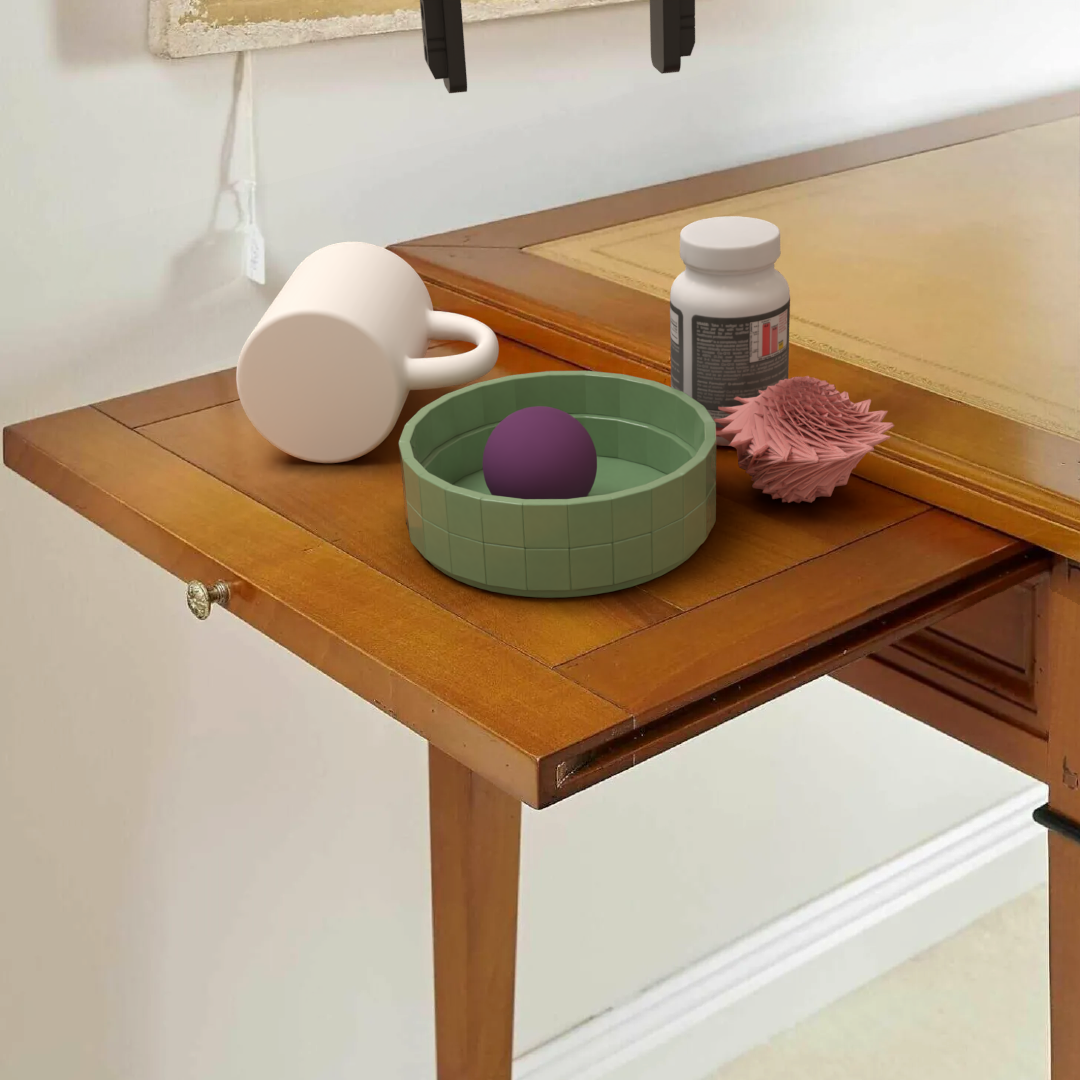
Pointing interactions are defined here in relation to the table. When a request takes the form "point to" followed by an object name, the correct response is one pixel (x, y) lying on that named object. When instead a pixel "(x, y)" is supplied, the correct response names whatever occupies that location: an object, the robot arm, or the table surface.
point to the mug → (350, 353)
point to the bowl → (563, 524)
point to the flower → (801, 437)
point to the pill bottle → (729, 313)
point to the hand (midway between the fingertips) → (562, 78)
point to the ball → (540, 456)
